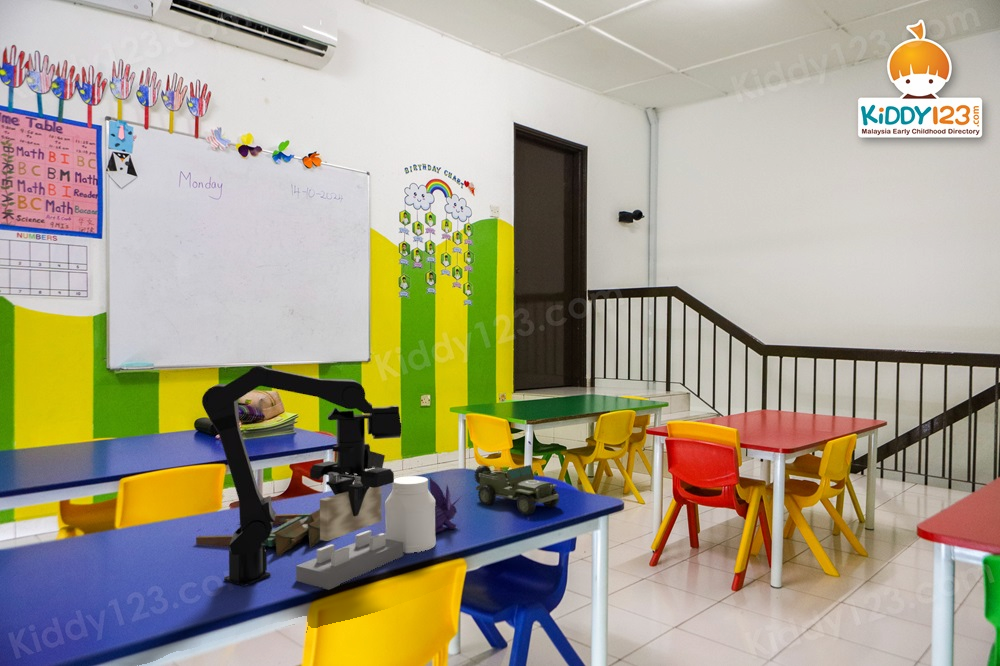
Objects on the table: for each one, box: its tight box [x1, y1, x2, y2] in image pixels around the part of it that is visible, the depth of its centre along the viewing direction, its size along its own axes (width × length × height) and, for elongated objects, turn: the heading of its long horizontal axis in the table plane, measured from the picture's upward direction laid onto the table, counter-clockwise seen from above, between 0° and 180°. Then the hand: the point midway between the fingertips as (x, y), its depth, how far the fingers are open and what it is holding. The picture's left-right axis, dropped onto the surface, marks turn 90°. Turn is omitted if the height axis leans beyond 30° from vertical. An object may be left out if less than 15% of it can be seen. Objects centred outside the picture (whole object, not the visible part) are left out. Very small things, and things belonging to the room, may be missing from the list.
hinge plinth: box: [295, 529, 404, 591], centre depth 138 cm, size 22×9×6 cm, turn 149°
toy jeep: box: [474, 464, 560, 516], centre depth 187 cm, size 12×25×11 cm, turn 46°
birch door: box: [319, 486, 382, 542], centre depth 138 cm, size 16×2×9 cm, turn 149°
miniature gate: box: [195, 508, 322, 557], centre depth 160 cm, size 27×6×30 cm
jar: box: [384, 475, 437, 554], centre depth 152 cm, size 12×10×15 cm
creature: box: [429, 476, 463, 534], centre depth 164 cm, size 9×18×12 cm, turn 134°
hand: (351, 515), depth 138 cm, fingers closed on birch door, 2 cm apart
